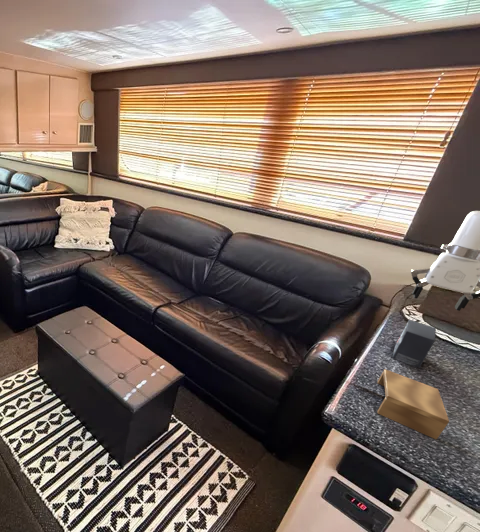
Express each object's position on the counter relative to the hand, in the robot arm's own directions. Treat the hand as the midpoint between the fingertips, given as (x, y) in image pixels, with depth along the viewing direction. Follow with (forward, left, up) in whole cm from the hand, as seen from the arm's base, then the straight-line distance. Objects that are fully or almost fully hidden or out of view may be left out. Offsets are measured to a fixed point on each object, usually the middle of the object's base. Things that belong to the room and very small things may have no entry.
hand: (435, 303), depth 101 cm
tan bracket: (+3, +35, -22) cm, 41 cm away
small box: (0, 0, -22) cm, 22 cm away
